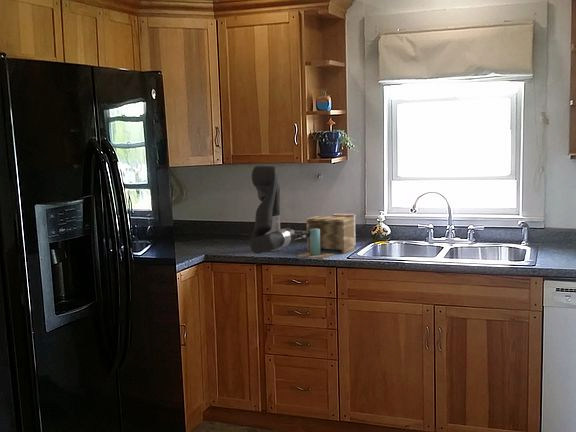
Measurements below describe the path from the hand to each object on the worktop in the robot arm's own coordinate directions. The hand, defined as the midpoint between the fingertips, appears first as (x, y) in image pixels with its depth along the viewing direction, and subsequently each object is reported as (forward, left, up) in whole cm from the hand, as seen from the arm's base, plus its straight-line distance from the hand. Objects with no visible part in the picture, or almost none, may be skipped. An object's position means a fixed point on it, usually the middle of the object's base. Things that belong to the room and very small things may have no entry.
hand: (301, 231), depth 319 cm
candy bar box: (+1, +41, -13) cm, 43 cm away
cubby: (+1, +27, -13) cm, 30 cm away
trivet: (+1, +11, -13) cm, 17 cm away
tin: (+1, +11, -12) cm, 17 cm away
